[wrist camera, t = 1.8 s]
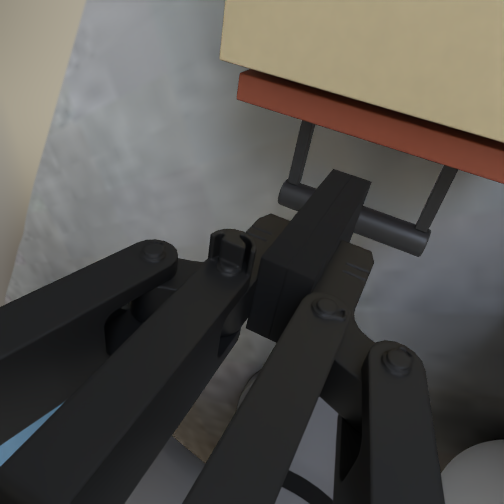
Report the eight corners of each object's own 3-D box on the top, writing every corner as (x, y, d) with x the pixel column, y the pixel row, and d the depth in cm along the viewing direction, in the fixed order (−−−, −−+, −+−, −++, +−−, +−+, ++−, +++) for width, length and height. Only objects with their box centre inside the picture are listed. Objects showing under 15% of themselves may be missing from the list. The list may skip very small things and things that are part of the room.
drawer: (470, 234, 24) (465, 302, 19) (271, 164, 28) (221, 206, 23) (792, -324, 12) (1010, -541, 7) (369, -330, 16) (310, -480, 11)
